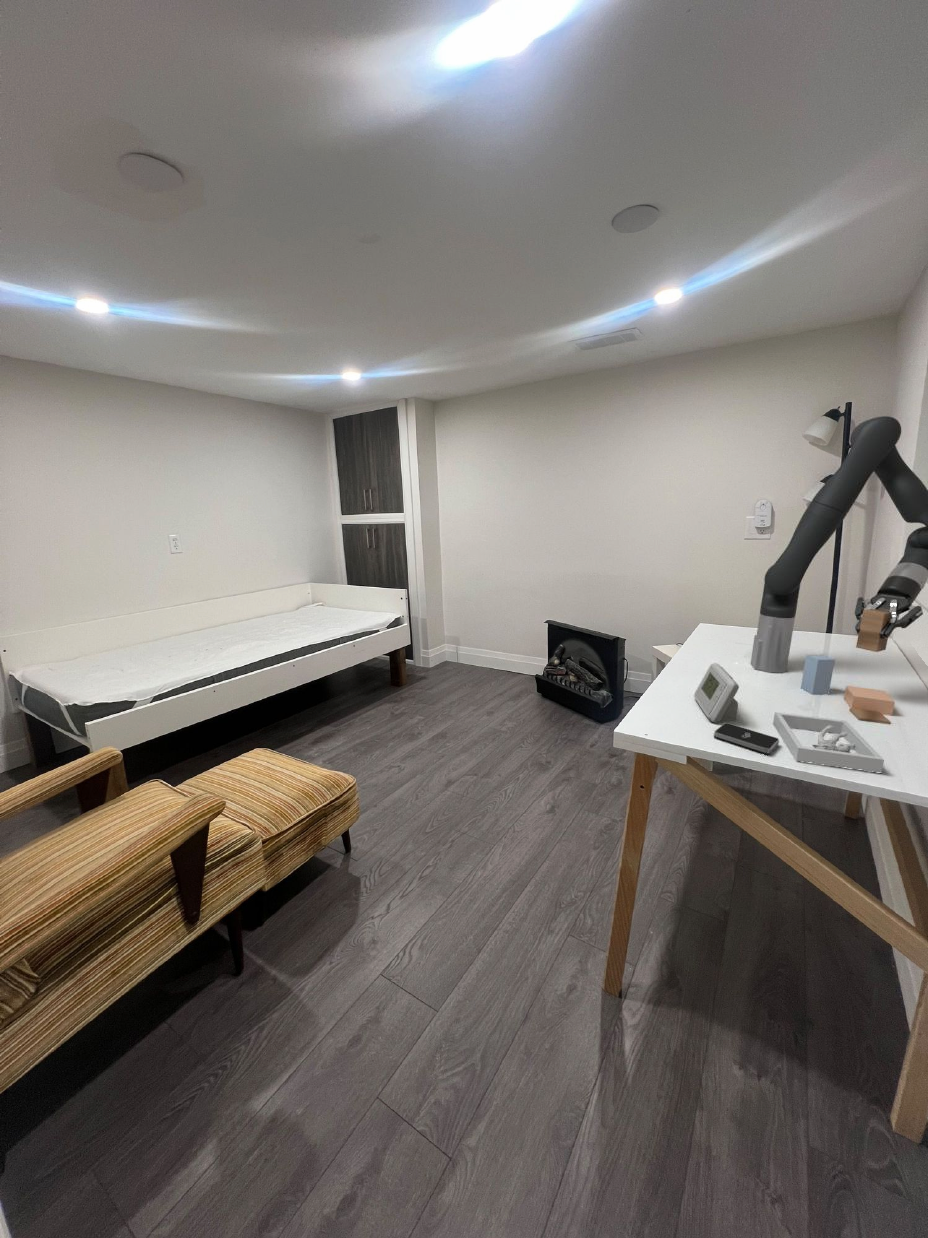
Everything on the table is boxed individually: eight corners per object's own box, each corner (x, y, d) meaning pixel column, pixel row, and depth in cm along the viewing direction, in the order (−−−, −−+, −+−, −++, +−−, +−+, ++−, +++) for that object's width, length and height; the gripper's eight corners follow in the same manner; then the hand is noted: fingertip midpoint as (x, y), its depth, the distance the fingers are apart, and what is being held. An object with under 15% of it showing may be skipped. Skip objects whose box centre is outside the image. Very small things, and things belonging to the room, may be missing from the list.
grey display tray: (796, 761, 97) (798, 748, 96) (772, 724, 113) (774, 712, 113) (881, 774, 92) (884, 759, 92) (844, 733, 109) (846, 720, 108)
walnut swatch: (859, 720, 115) (859, 718, 115) (849, 710, 121) (849, 708, 121) (890, 724, 113) (890, 721, 113) (878, 713, 119) (878, 711, 119)
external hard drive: (768, 758, 99) (769, 749, 98) (711, 739, 107) (713, 731, 106) (778, 747, 104) (779, 738, 103) (723, 730, 111) (724, 722, 111)
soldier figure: (865, 759, 100) (853, 761, 92) (840, 768, 103) (826, 770, 95) (841, 724, 104) (827, 723, 96) (817, 733, 107) (802, 732, 99)
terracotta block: (850, 710, 121) (853, 696, 120) (843, 699, 128) (846, 685, 127) (891, 717, 118) (894, 701, 117) (881, 705, 125) (884, 690, 124)
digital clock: (693, 697, 129) (697, 659, 127) (731, 702, 126) (736, 664, 123) (695, 721, 115) (700, 679, 112) (738, 728, 111) (744, 685, 109)
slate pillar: (812, 694, 131) (818, 659, 129) (800, 688, 135) (806, 654, 133) (828, 694, 131) (834, 659, 129) (816, 688, 135) (822, 654, 133)
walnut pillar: (876, 652, 122) (884, 613, 120) (855, 647, 126) (863, 610, 124) (885, 649, 124) (893, 611, 122) (865, 645, 128) (872, 608, 126)
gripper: (867, 571, 130) (834, 619, 128) (936, 578, 118) (901, 632, 115) (874, 589, 134) (842, 636, 131) (941, 598, 121) (907, 650, 119)
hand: (870, 634), depth 123 cm, fingers closed on walnut pillar, 4 cm apart
